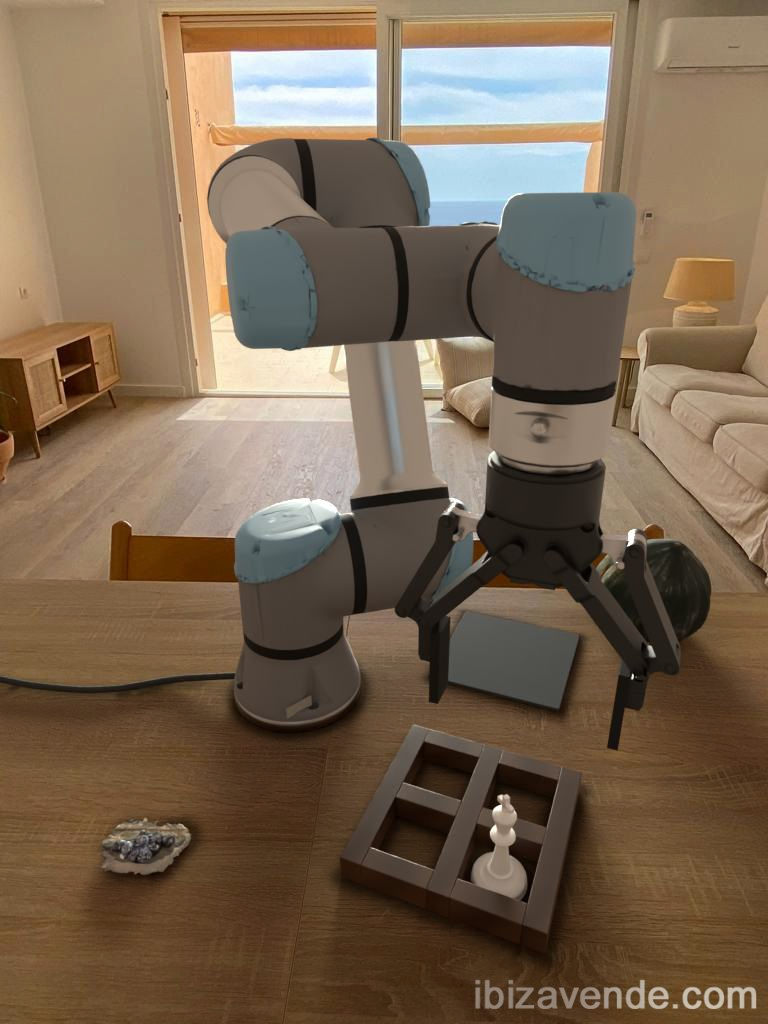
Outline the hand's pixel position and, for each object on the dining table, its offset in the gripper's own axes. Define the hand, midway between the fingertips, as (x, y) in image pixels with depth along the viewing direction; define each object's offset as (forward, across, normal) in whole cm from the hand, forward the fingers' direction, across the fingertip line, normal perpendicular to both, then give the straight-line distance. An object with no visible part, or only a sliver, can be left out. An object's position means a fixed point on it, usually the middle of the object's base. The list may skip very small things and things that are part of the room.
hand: (522, 714), depth 54 cm
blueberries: (+18, -32, -9) cm, 38 cm away
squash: (+18, +9, +45) cm, 50 cm away
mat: (+18, -7, +32) cm, 37 cm away
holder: (+18, -5, +4) cm, 19 cm away
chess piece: (+18, -1, 0) cm, 18 cm away
